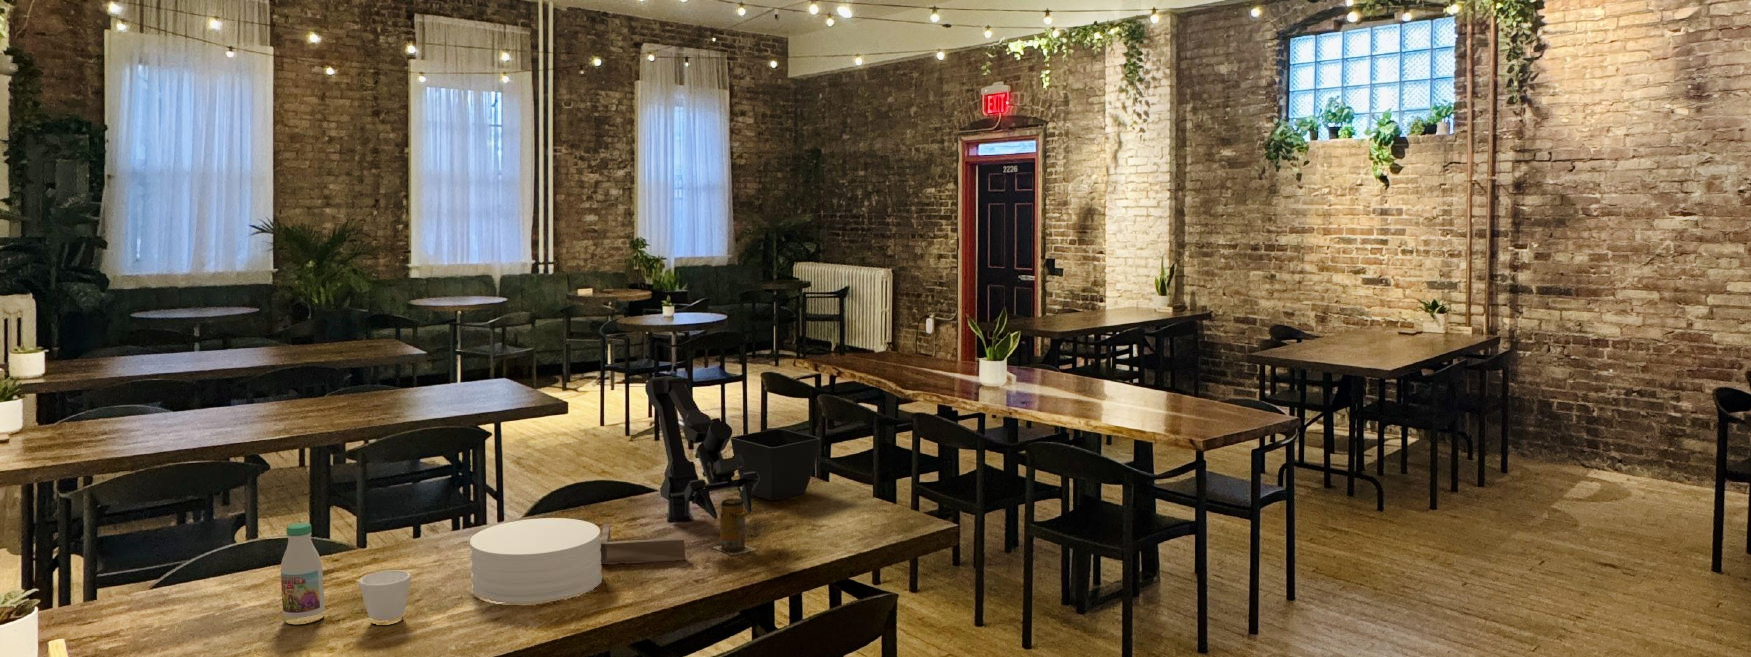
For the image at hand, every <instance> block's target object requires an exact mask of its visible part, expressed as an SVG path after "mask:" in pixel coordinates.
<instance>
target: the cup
mask: <svg viewBox="0 0 1751 657" xmlns="http://www.w3.org/2000/svg"><path fill="white" fill-rule="evenodd" d="M411 580H412V574H411V573H410V572H409V571H407V570H401V569H387V570H380V571H374V572H371V573H370V572H369V573H368V574H365V575H363V576H362V577H360V578H359V580H358V588H359V589H360V593H361V595H362V599H363V603H364V605H365V608H366V609H365V610H366V612H367V616H368V618H369V619H370V618H372V619H374V620H378V621H383V620H384V621H385V620H391V619H394V618H399V617H401V616H402V615H403V614H404V615H405V610H406V607H407V606H406V605H407V601H408V600H407V599H408V595H409V590H410V586H411V585H410V584H411Z"/></svg>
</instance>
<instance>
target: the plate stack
mask: <svg viewBox="0 0 1751 657" xmlns="http://www.w3.org/2000/svg"><path fill="white" fill-rule="evenodd" d="M469 549H470V552H469V553H470V571H471V576H470V577H471V583H472V585H471V591H472V590H473V591H474V593H475V594H476V595H478V596H480V597H482V598H484V599H489V600H491V601H496V602H505V603H511V604H534V603H541V602H551V601H556V600H560V599H566V598H570V597H573V596H577V595H581V594H583V593H586V592H588V591H590V590H592V591H594V590H595V589H594V588H595V587H597V586H598V585H599V584H600V585H601V583H602V580H603V575H602V565H601V551H600V549H601V529H600V527H599V526H598V525H596V524H595V523H592V522H590V521H586V520H582V519H574V518H565V517H563V518H561V517H559V518H558V517H547V518H546V517H545V518H544V517H543V518H531V519H530V518H529V519H521V520H515V521H509V522H504V523H500V524H496V525H493V526H489V527H487V528H484V529H482V530H480V531H478V532H477V533H475V534H474V535H472V537H470V539H469ZM600 585H599V586H600ZM599 586H598V587H599ZM598 587H597V588H598ZM593 589H594V590H593Z"/></svg>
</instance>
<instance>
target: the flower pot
mask: <svg viewBox="0 0 1751 657" xmlns="http://www.w3.org/2000/svg"><path fill="white" fill-rule="evenodd" d="M820 441H821V438H820V437H817V436H813V435H810V434H805V433H802V432H801V433H800V432H796V431H793V430H792V431H791V430H789V429H783V428H773V429H766V430H761V431H756V432H752V433H751V432H749V433H747V434H741V435H736V436H731V437H730V442H731V448H732V452H733V454H732V455H733V456H734V455H737V454H741V456H742V458H743V461H744V466H742V467H741V468H739V470H737V472H738V476H739V478H740V477H741V475H742V473H747V472H757V473H758V475H759V477H760V481H759V483H758V484H757V486H756V488H755V490H754V491H752V493H751V496H754V497H758V498H762V499H764V500H765V499H766V500H768V501H772V502H774V501H780V500H783V499H788V498H792V497H795V496H800V495H804V494H805V493H806V491H807V489H808V486H809V484H810V481H811V478H812V475H813V472H814V468H815V465H816V461H817V456H818V453H819V448H820ZM803 493H804V494H803Z"/></svg>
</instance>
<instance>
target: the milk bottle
mask: <svg viewBox="0 0 1751 657" xmlns="http://www.w3.org/2000/svg"><path fill="white" fill-rule="evenodd" d="M312 530H313V528H312V525H311V523H310V522H309V523H308V522H297V523H292V524H289V525H287V526H286V530H285V531H286V538H287V539H288V540H287V541H288V542H287V546H286V550H285V551H284V554H283V557H282V558H281V563H280V582H281V583H280V584H281V599H282V600H281V602H282V604H281V605H282V615H284V616H286V617H287V618H301V617H307V616H313V615H317V614H319V613H321V612H323V611H324V609H325V606H326V605H325V590H324V574H323V566H322V561H321V560H322V559H321V556H320V555H319V554H320V553H319V552H318V550H317V549H316V547H315V545H314V543H313V541H312V537H311V536H312V535H313V533H312V532H313V531H312ZM325 610H326V609H325Z"/></svg>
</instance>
